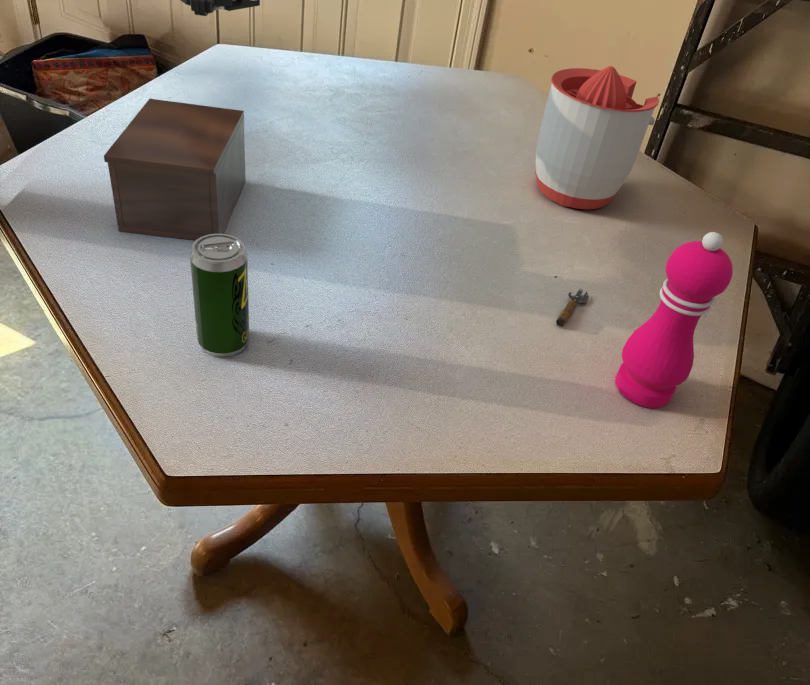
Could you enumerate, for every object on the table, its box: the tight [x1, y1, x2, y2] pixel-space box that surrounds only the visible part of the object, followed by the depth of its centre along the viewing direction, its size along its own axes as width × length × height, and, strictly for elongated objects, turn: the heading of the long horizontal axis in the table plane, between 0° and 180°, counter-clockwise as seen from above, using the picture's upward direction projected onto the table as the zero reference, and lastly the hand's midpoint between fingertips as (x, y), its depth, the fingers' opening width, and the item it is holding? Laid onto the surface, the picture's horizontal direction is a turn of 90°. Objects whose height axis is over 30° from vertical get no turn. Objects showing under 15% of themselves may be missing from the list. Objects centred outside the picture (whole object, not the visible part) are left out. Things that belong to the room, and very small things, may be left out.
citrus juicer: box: [534, 65, 660, 210], centre depth 106 cm, size 16×17×20 cm
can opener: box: [555, 288, 589, 327], centre depth 87 cm, size 9×2×1 cm, turn 145°
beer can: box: [189, 233, 250, 358], centre depth 71 cm, size 5×5×12 cm
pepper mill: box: [614, 231, 734, 409], centre depth 71 cm, size 7×7×20 cm
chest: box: [107, 116, 246, 241], centre depth 92 cm, size 17×13×10 cm
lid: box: [103, 98, 245, 175], centre depth 88 cm, size 17×13×1 cm
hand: (199, 7), depth 91 cm, fingers closed
